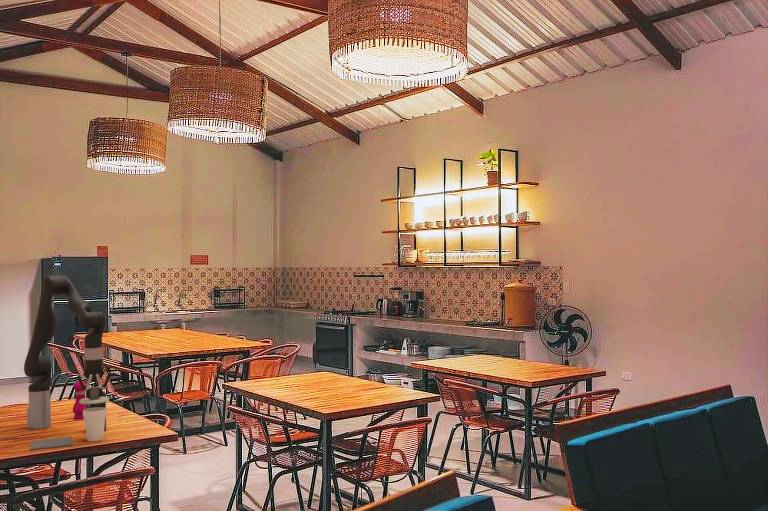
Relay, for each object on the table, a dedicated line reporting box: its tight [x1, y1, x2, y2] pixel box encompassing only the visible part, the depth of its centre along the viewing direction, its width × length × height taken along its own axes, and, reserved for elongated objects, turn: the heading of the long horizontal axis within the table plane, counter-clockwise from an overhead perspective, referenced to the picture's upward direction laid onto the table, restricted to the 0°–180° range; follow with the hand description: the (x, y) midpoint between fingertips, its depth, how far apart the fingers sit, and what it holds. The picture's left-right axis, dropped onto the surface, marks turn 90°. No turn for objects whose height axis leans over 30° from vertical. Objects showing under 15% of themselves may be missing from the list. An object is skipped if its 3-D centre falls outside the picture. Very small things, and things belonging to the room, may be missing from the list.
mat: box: [29, 436, 74, 451], centre depth 311 cm, size 16×16×1 cm
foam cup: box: [83, 407, 107, 442], centre depth 318 cm, size 10×9×13 cm
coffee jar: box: [85, 391, 107, 431], centre depth 335 cm, size 10×8×19 cm
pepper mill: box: [72, 379, 87, 421], centre depth 363 cm, size 7×7×20 cm
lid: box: [79, 386, 110, 404], centre depth 318 cm, size 12×12×6 cm
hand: (94, 397), depth 318 cm, fingers closed on lid, 4 cm apart
